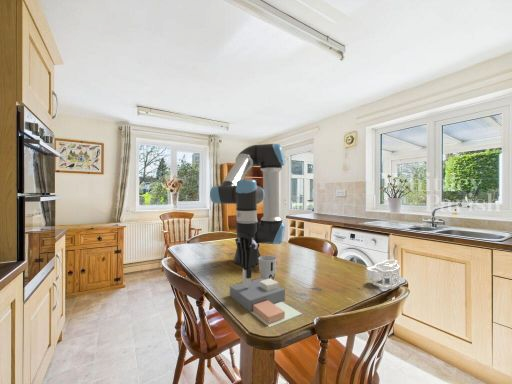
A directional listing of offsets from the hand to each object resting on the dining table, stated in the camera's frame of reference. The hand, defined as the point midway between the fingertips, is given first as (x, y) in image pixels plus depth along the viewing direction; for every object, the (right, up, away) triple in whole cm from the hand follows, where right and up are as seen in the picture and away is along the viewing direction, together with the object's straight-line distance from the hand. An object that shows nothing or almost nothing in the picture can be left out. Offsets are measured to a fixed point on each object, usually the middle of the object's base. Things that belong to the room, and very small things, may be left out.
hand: (247, 285), depth 86 cm
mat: (+10, -5, -10) cm, 15 cm away
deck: (+4, -5, 0) cm, 6 cm away
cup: (+8, -5, +18) cm, 21 cm away
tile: (+7, -5, -11) cm, 14 cm away
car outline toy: (+61, -5, +17) cm, 63 cm away
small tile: (+8, -1, +1) cm, 8 cm away
